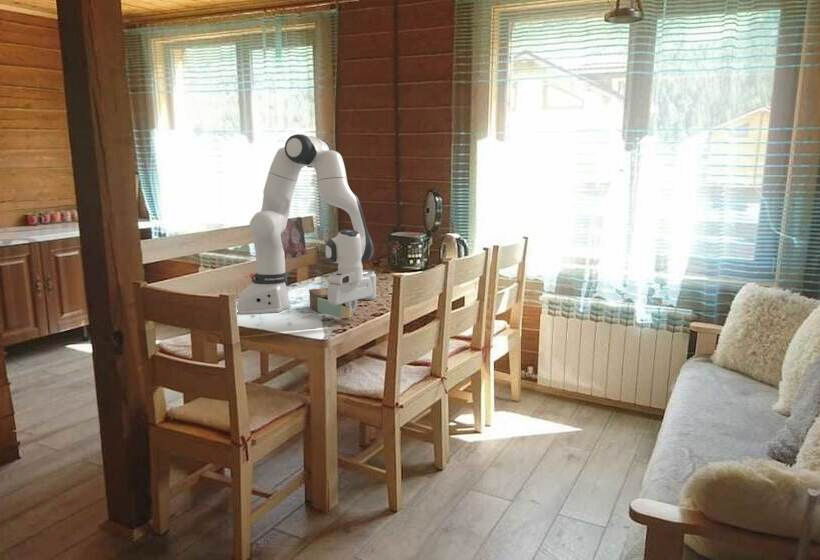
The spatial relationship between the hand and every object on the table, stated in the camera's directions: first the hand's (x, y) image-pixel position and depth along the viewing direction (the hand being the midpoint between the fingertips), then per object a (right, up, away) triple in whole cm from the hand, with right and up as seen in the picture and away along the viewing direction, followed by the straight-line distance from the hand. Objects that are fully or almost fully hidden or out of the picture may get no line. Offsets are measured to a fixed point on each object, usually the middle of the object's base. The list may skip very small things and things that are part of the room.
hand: (351, 312), depth 228 cm
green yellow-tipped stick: (-7, -1, +5) cm, 8 cm away
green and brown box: (-10, +1, +20) cm, 23 cm away
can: (+3, +4, +37) cm, 38 cm away
